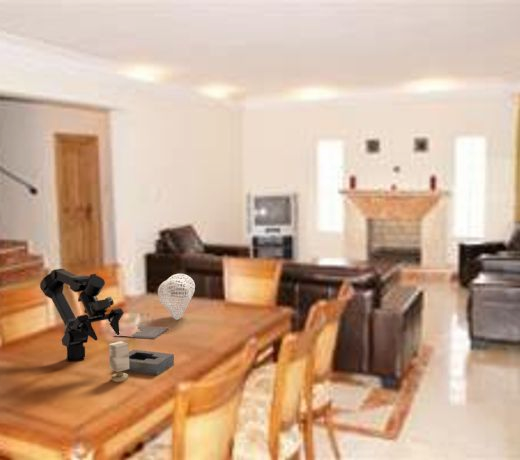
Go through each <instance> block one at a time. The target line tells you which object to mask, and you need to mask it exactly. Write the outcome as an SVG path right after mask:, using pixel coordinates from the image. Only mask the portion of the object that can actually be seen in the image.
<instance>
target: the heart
mask: <svg viewBox="0 0 520 460" xmlns="http://www.w3.org/2000/svg"><path fill="white" fill-rule="evenodd" d="M195 288H196V284H195V280H193V278H192V277H191V276H189V275H187V274H186V273H176V274H172V275H170V277H168V278H167V279H166V280H164V281H162V283H161V284H159V287H158V289H157V296H158V299H159V301H160V303H161V304H162V305H163V307H164V308H165V309H166V310H167V311H168V313H169V314H170V315H171V317H172V318H173V319H174V320H177V321H178V320H180V319H181V318H182V316H183V315H184V314H185V311H186V309H187V307H188V305H189V304H190V302H191V299H192V298H193V296H194V293H195V291H196V290H195Z"/></svg>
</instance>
